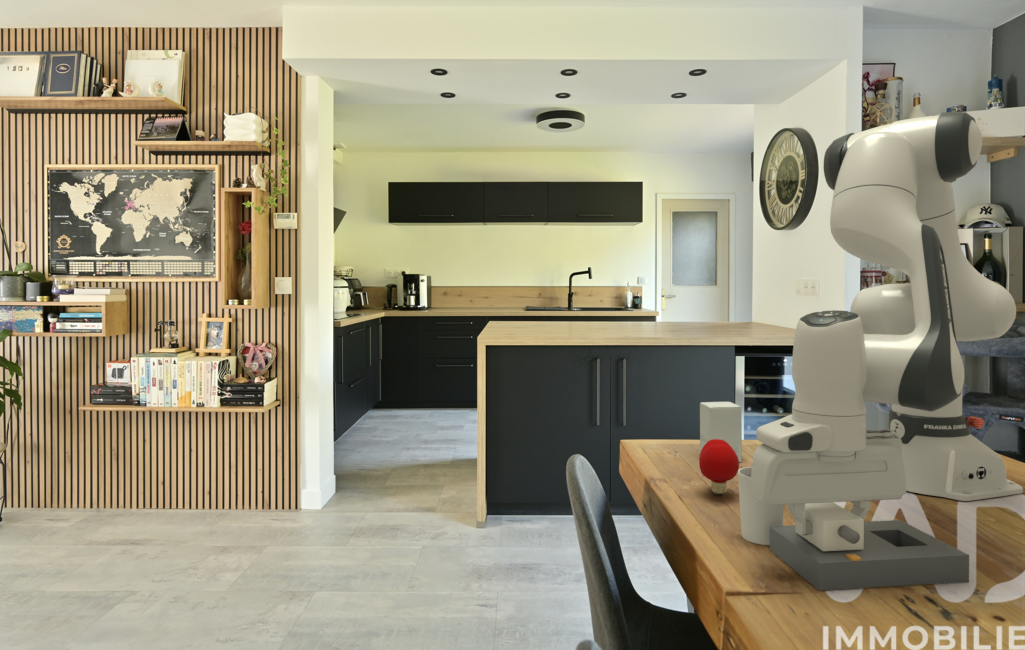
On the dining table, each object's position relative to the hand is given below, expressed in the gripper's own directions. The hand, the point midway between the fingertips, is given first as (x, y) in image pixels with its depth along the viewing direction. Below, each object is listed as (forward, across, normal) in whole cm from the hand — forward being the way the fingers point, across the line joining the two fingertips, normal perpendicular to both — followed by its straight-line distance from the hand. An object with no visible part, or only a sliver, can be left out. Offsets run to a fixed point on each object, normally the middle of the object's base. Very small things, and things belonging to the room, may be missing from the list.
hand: (828, 532), depth 79 cm
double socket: (+5, -5, 0) cm, 7 cm away
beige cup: (+5, +4, -11) cm, 12 cm away
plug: (+4, 0, 0) cm, 4 cm away
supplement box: (+5, -9, -54) cm, 55 cm away
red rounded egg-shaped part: (+5, +2, -30) cm, 30 cm away
